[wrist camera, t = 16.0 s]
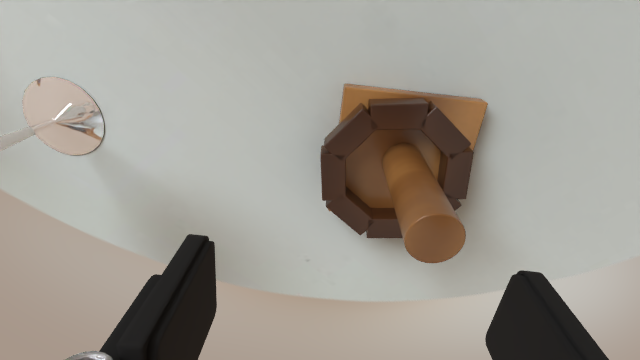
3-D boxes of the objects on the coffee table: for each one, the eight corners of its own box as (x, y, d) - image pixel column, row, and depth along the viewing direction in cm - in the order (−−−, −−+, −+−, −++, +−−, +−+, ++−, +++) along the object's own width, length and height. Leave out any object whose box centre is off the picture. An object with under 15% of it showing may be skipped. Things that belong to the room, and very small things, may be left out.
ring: (473, 96, 20) (482, 102, 18) (453, 225, 23) (459, 237, 22) (319, 99, 20) (318, 106, 19) (324, 226, 24) (323, 238, 22)
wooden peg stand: (481, 98, 21) (576, 158, 12) (446, 216, 24) (501, 322, 16) (344, 83, 20) (349, 133, 12) (328, 203, 24) (324, 303, 16)
